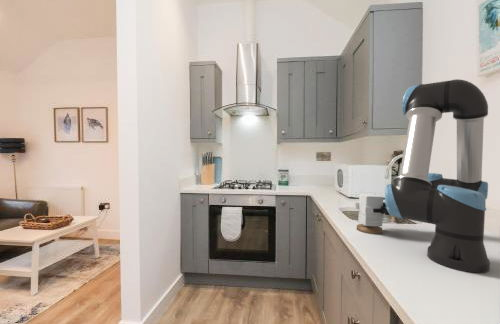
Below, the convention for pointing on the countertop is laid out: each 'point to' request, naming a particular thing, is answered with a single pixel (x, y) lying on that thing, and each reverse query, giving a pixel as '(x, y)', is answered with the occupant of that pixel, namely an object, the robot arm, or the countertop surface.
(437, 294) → the countertop surface
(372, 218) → the supplement box
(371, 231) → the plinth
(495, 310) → the countertop surface
